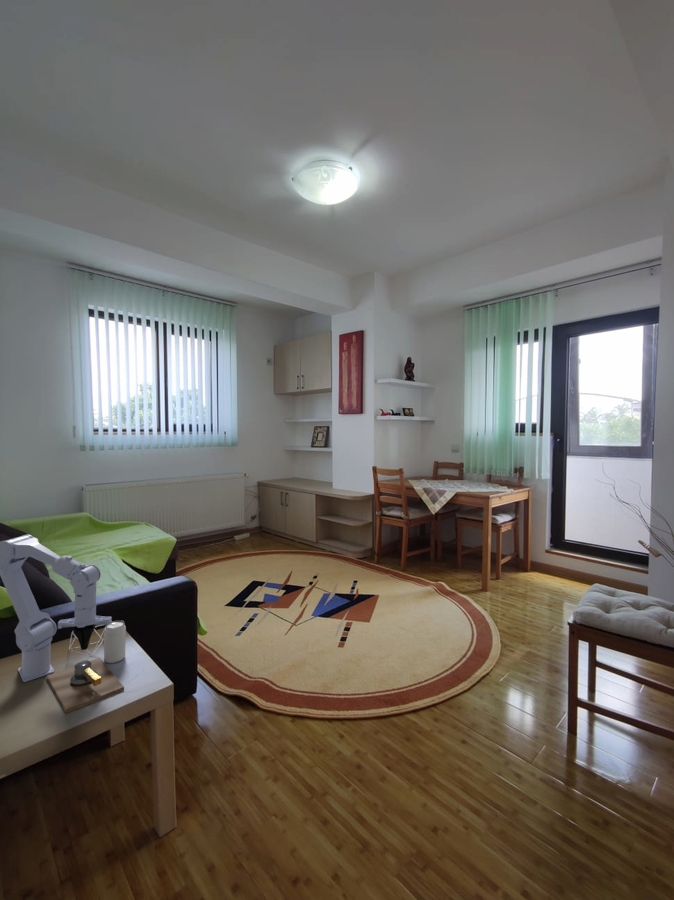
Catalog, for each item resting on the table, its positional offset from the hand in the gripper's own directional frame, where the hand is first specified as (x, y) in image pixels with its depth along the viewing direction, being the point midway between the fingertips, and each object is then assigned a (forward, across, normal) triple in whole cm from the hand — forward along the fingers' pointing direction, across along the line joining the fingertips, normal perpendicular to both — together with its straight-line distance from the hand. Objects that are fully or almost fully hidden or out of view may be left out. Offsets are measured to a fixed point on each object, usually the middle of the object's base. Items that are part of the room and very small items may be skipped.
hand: (84, 648), depth 129 cm
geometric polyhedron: (+10, -5, +18) cm, 21 cm away
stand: (+9, +1, -4) cm, 10 cm away
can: (+10, +6, +10) cm, 15 cm away
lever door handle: (+8, +3, -5) cm, 10 cm away
